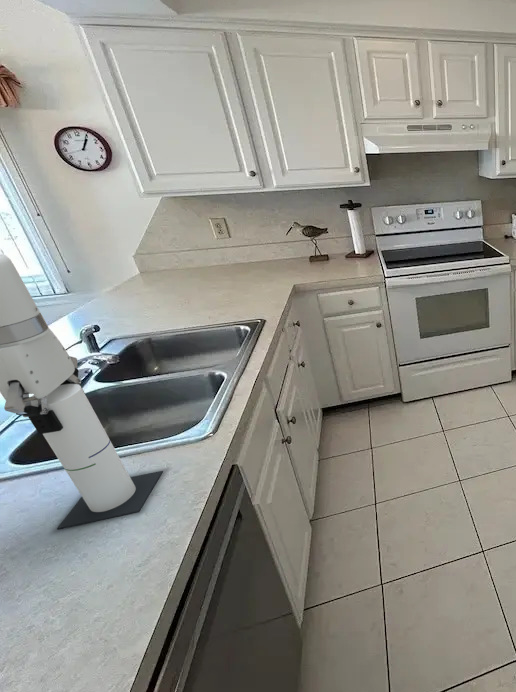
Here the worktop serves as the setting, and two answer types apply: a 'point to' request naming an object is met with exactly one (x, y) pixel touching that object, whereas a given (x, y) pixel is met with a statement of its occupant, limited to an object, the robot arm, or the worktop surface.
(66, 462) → the cylindrical container
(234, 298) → the worktop surface
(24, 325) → the robot arm
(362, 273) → the worktop surface
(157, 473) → the mat
